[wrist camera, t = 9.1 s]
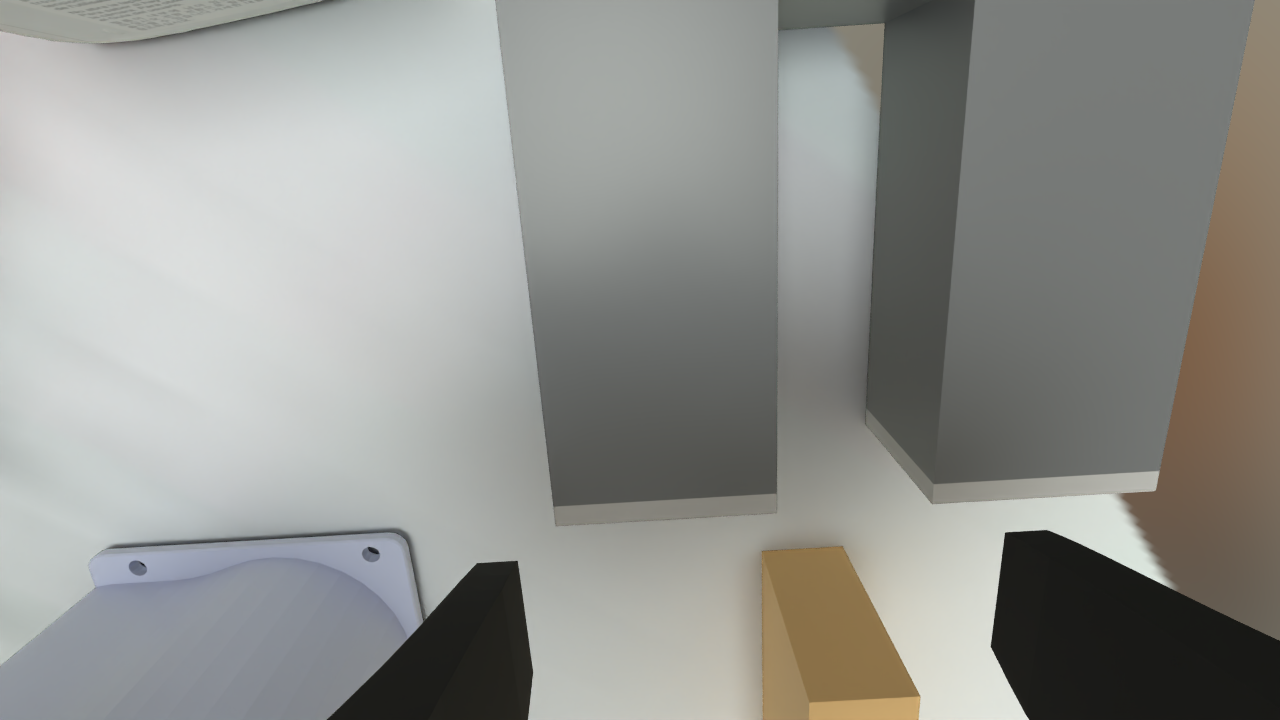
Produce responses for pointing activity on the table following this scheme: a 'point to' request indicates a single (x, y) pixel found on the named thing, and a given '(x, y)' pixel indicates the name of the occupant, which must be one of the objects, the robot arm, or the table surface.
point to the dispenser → (903, 244)
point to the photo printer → (126, 17)
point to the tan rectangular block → (827, 643)
